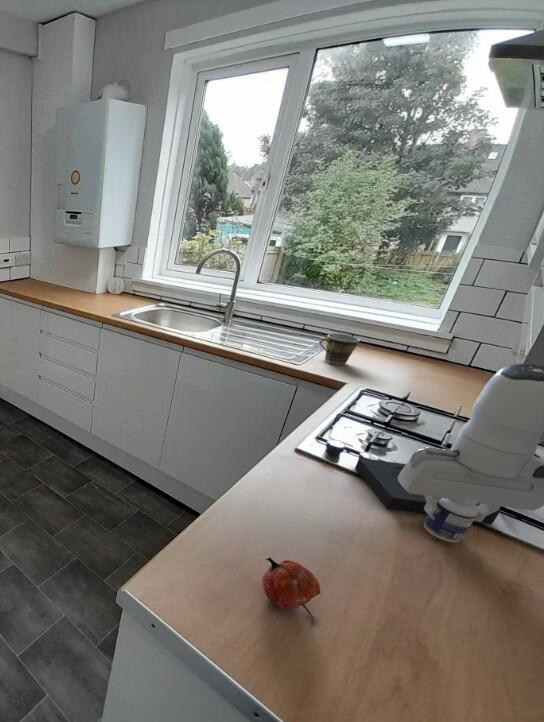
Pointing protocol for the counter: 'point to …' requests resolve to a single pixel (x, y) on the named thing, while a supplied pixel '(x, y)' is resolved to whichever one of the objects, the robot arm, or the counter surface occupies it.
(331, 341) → the ceramic cup
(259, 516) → the counter surface
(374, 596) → the counter surface
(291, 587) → the pomegranate
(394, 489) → the black pad
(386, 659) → the counter surface
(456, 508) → the pill bottle
